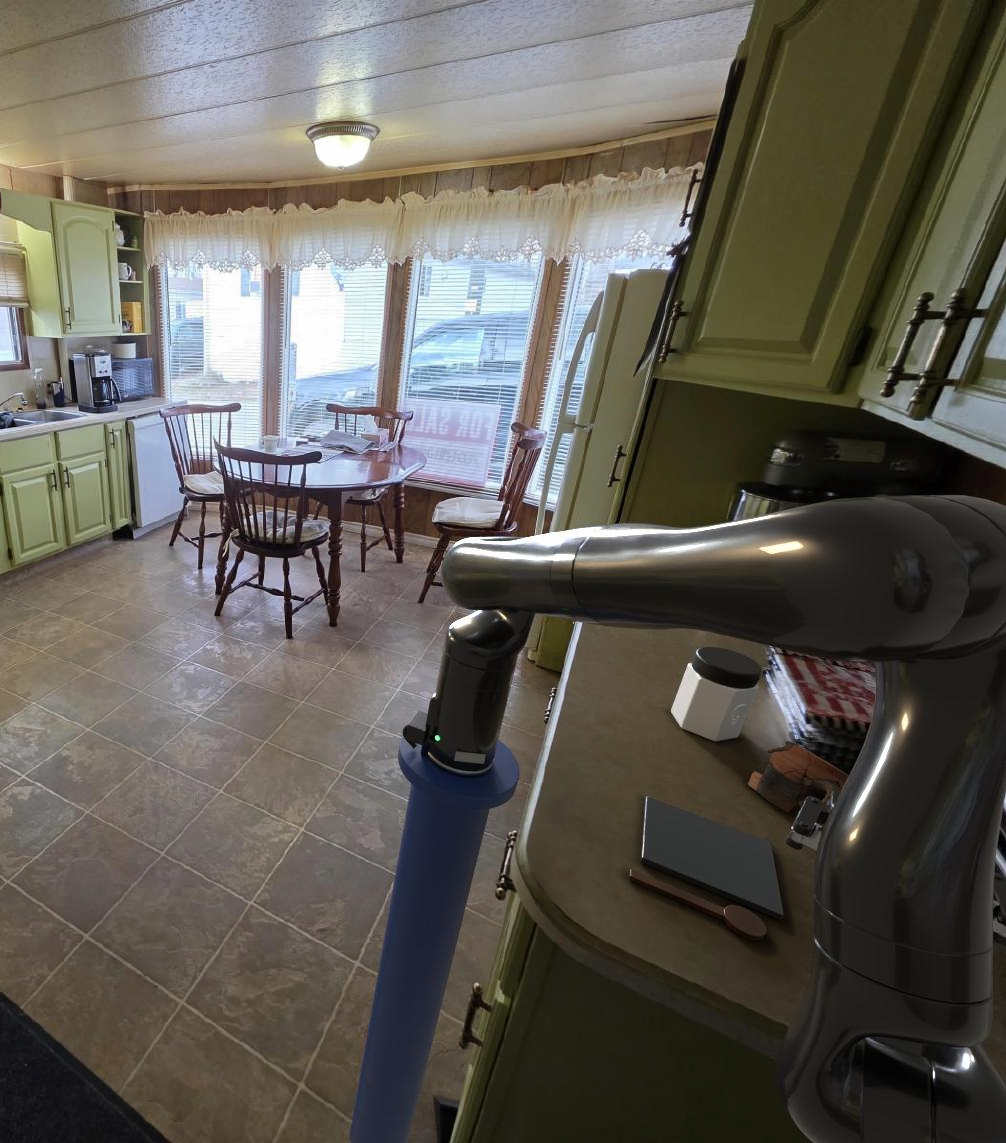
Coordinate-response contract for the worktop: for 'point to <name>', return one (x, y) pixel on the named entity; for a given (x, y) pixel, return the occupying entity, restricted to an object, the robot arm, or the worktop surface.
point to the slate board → (711, 856)
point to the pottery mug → (796, 777)
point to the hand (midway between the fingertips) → (893, 816)
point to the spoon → (709, 908)
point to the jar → (716, 693)
